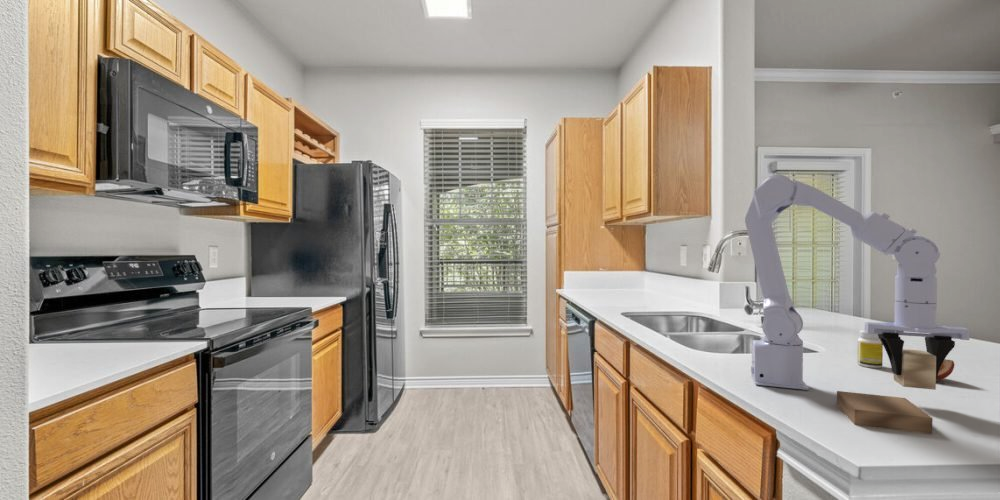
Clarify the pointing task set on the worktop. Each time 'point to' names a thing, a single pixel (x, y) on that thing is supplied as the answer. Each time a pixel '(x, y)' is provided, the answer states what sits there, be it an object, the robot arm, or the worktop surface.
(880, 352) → the supplement bottle
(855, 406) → the walnut block
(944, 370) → the fruit slice
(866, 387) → the worktop surface
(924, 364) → the birch block
